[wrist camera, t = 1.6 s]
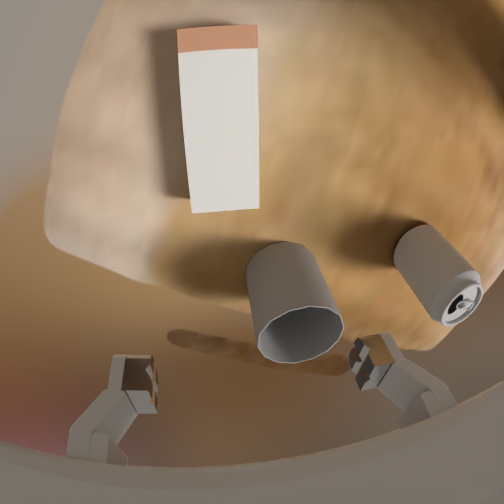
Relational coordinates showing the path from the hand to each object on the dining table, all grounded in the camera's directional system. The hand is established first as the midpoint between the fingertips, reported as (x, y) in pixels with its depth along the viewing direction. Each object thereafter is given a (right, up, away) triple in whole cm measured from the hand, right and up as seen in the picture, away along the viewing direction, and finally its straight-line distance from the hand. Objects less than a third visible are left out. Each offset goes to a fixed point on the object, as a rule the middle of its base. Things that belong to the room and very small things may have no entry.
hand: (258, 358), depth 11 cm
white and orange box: (-3, +16, +14) cm, 21 cm away
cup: (+3, +2, +25) cm, 25 cm away
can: (+21, +5, +25) cm, 33 cm away
